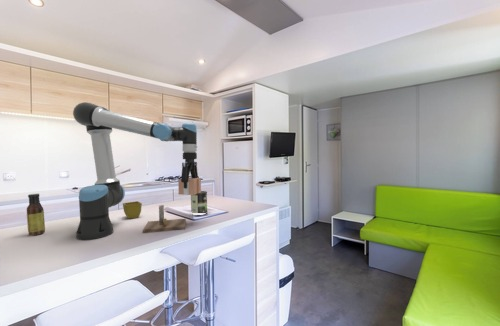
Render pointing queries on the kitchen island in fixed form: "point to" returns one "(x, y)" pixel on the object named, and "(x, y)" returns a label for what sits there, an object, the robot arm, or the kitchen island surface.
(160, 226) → the base
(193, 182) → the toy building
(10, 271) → the kitchen island surface
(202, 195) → the coffee can
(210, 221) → the kitchen island surface
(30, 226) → the sauce bottle
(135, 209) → the flower pot
